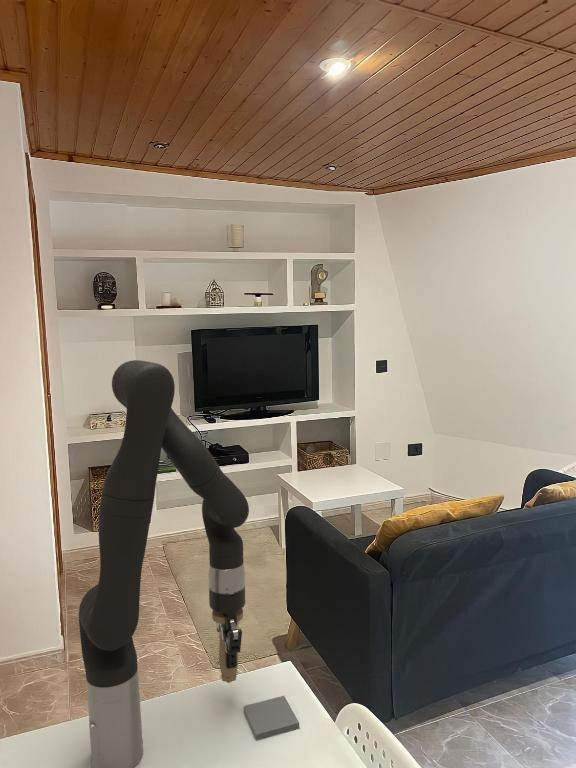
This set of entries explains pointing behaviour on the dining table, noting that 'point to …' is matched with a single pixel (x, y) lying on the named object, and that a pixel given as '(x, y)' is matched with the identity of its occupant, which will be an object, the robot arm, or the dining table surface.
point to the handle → (227, 674)
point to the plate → (270, 717)
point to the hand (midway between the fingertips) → (228, 661)
